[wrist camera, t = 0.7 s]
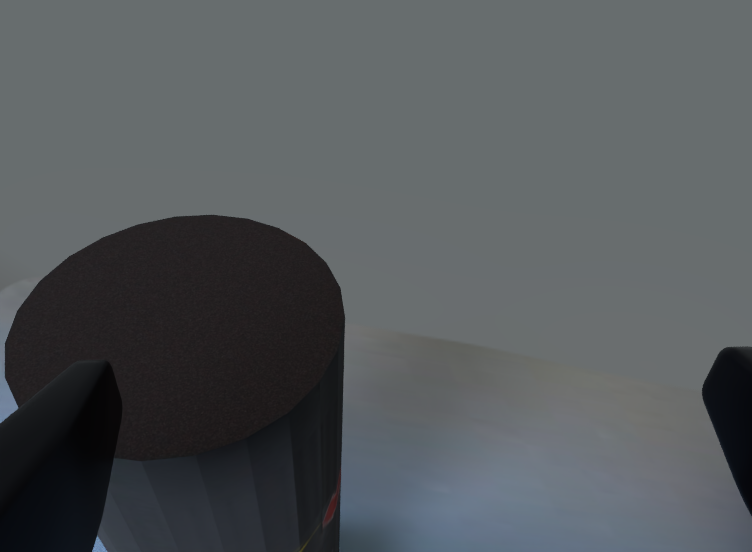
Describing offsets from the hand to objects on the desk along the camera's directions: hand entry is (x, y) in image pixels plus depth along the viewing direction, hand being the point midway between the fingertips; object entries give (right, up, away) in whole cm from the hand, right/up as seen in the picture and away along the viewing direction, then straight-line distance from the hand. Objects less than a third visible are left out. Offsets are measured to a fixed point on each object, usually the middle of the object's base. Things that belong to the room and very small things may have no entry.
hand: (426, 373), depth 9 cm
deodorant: (-5, -10, +13) cm, 17 cm away
